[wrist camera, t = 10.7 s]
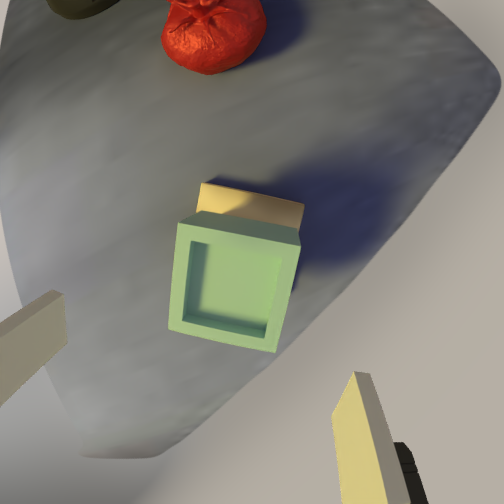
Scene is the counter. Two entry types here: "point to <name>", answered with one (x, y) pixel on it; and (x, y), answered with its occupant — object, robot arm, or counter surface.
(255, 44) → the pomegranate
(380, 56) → the counter surface
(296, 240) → the cup block
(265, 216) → the plate
